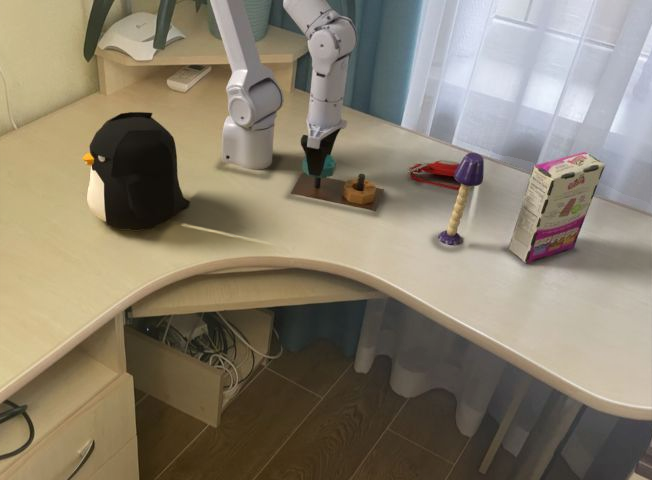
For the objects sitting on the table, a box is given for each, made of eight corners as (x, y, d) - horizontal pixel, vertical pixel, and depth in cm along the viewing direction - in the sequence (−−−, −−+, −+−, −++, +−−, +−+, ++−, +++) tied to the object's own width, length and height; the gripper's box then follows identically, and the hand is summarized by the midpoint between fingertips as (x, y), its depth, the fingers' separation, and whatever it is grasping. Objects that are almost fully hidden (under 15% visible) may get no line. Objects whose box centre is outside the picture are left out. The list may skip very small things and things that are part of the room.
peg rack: (290, 197, 137) (292, 172, 134) (301, 176, 143) (303, 152, 140) (375, 214, 134) (379, 190, 131) (383, 192, 140) (387, 169, 137)
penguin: (81, 193, 135) (68, 102, 123) (177, 180, 140) (173, 91, 128) (99, 250, 123) (87, 155, 111) (204, 233, 127) (203, 140, 116)
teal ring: (299, 174, 135) (300, 165, 134) (307, 159, 139) (308, 150, 138) (330, 180, 134) (331, 171, 133) (337, 165, 138) (338, 156, 137)
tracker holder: (443, 156, 149) (485, 165, 142) (439, 178, 151) (481, 189, 144) (403, 159, 142) (445, 169, 135) (400, 182, 143) (441, 193, 137)
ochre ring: (340, 200, 136) (341, 191, 135) (347, 184, 140) (348, 176, 139) (370, 206, 135) (372, 197, 134) (376, 190, 139) (378, 182, 138)
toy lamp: (465, 239, 130) (490, 152, 119) (462, 253, 127) (487, 166, 115) (438, 233, 131) (460, 146, 120) (434, 247, 128) (456, 159, 116)
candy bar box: (553, 234, 133) (585, 150, 121) (573, 249, 129) (608, 164, 118) (505, 249, 129) (533, 163, 117) (524, 265, 125) (555, 178, 114)
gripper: (340, 117, 121) (330, 190, 130) (358, 82, 131) (349, 152, 140) (298, 109, 122) (292, 182, 131) (320, 75, 132) (312, 145, 142)
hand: (318, 166), depth 136 cm, fingers closed on teal ring, 6 cm apart
